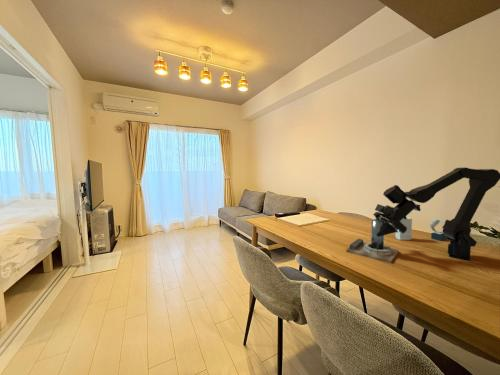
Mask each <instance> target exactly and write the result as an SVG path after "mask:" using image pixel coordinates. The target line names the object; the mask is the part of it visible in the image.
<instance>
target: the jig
mask: <svg viewBox="0 0 500 375" xmlns="http://www.w3.org/2000/svg"><path fill="white" fill-rule="evenodd" d="M345 250H346V251H345V252H346V253H350V254H355V255H358V256H362V257H366V258H369V259H373V260H377V261H381V262H386V263H388V264H389V263H390V264H391V263H392V262H393V261H394V259H395V258H396V257H397V255H398V253H399V252H400V249H398V248H397V249H396V248H393V247H390V246H389V245H387V244H384V249H383V250H377V249H373V248H371V242H364V239H363V238H362V239H361V238H357V239H356V240H354V241H353V242H352V243H350V244H349V247H348V248H347V249H345Z"/></svg>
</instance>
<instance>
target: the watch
mask: <svg viewBox="0 0 500 375" xmlns="http://www.w3.org/2000/svg"><path fill="white" fill-rule="evenodd" d="M440 221H441V222H443V223H444V224H445V221H446V220H445V219H443V218H435V219H433V220H432V221H430V223H429V226H430V227H429V228H430V229H431V231H432V232H431V236H430V237H431V239H432V240H436V241H439V242H443V241H447V240H448V239H447V237H446V236H445V235H444V233H443V231H442V232H441V231H437V230H436V228H435V227H437V226H438V225H439V223H440Z"/></svg>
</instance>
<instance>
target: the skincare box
mask: <svg viewBox="0 0 500 375" xmlns="http://www.w3.org/2000/svg"><path fill="white" fill-rule="evenodd" d="M406 217H407V219H402V220H401V221H400V222H401V223H402V224H403V225H404V226H406V227H407V231H406V232H405V233H404V234H403V233H401V232H399V229H398V230H397V231H398V232H395V238H396V239H397V240H399V241H412V235H413V234H412V232H413V231H412V230H413V228H412V227H413V226H412V225H413V218H412V217H408V216H406Z"/></svg>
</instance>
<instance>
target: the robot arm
mask: <svg viewBox="0 0 500 375" xmlns="http://www.w3.org/2000/svg"><path fill="white" fill-rule="evenodd" d="M464 178H465V179H468V184H469V188H468V191H467V192H466V195H465V197H464V198H463V200H462V203H461V204H460V206H459V208H458V211H457V212H456V214H455V216H454V217H453V218H452V219H451V220H450V219H446V220H445V223H444V224H443V226H442V227H441V228H442V232H443V233H444V235H445V236H446V237H447V240H449V241H450V242H449V243H448V246H447V254H448V257H450V258H453V259H454V258H455V259H459V260H460V259H461V260H464V261H465V260H466V261H469V262H470V261H472V260H471V250H472V249H471V247H476V245H477V243H478V242H477V240H475V239H474V238H473V237H472V236H471V232H472V227H471V222H472V219H473V217H474V216H475V213H476V212H477V209H478V208H479V206H480V205H481V202H482V201H483V199H484V197H485V195H486V193H487V191H489V190H491V189H493V188H494V187H496V185H497V184H498V182H499V181H500V172H499V170H497V169H494V168H479V169H476V168H469V167H456V168H454V169H453V170H451V171H450V172H448V173H446V174H445V175H442V176H440V177H439V178H437V179H435V180H434V181H431V182H429V183H428V184H425V185H422V186H418V187H415V188H413V189H410V190H409V191H403V189H401V187H400V186H399V185H397V184H394V185H393V186H391V187H389V188H386V189H385V191H383V193H382V194H383V196H384V197H385V198H386V199H387V200H388V201H390V203H391V204H396V205H395V206H394V207H393V206H390V205H388V204H386V205H383V204H379V203H377V205H376V207H375V209H374V210H375V212H374V214H373V216H374V217H375V219H378V220H383V221H384V227H383V228H382V229H381V230H380V231H379V232H378V233H377V236H378V237H379V236H383V235H384V236H386V235H390V234H394V233H395V234H396V232H398V231H397V230H398V229H399V232H401V233H403V234H404V233H405V232H406V231H407V227H406V226H404V225H403V224H402V223H401V222H400V221H401V220H402V219H407V217H408V215H409V214H411V213H412V211H416V212H417V211H418V212H421V210H422V209H421V204H424V203H425V204H426V203H427V202H429V201H431V199H433V198H434V197H435V195H436V194H437V193H438V192H440V191H442V190H444V189H445V188H447V187H449V186H451V185H453V184H455V183H456V182H458V181H460V180H462V179H464ZM416 202H417V203H420V204H417V203H416Z"/></svg>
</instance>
